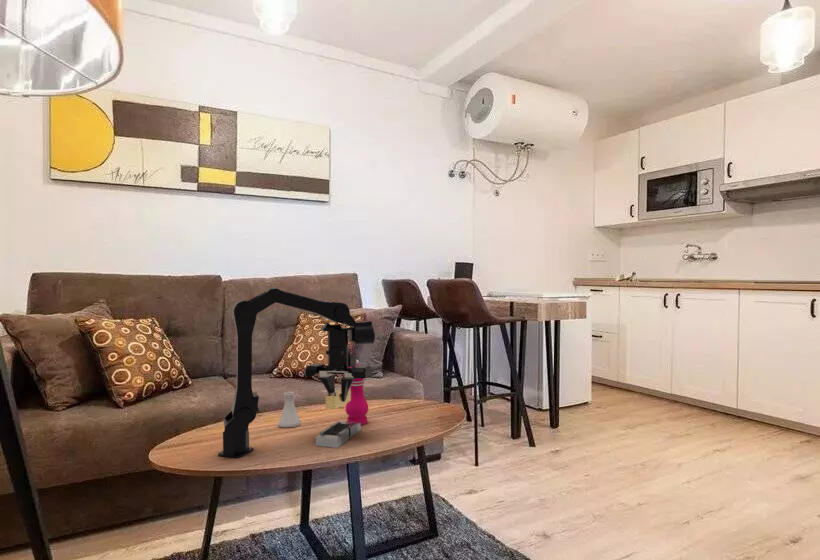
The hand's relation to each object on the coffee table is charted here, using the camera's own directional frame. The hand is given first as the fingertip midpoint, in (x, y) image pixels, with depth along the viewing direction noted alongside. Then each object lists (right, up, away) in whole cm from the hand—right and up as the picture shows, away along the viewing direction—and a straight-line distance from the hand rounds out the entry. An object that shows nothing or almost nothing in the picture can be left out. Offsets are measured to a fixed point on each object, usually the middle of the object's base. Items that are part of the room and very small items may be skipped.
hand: (338, 401), depth 134 cm
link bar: (0, -1, 0) cm, 1 cm away
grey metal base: (0, -10, 0) cm, 11 cm away
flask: (-18, -11, +14) cm, 25 cm away
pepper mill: (+4, -11, +14) cm, 18 cm away
